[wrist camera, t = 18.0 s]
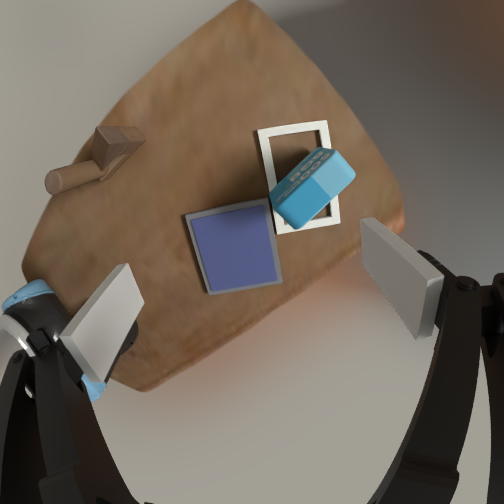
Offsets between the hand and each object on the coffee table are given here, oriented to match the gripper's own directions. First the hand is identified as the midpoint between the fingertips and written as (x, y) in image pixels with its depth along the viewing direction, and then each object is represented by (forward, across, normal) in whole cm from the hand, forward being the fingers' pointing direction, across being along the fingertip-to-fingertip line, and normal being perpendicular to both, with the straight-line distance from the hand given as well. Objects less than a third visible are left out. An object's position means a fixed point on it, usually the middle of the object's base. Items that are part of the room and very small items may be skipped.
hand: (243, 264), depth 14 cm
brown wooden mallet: (+35, -22, +10) cm, 42 cm away
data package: (+34, +9, -2) cm, 35 cm away
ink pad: (+35, -5, -13) cm, 37 cm away
